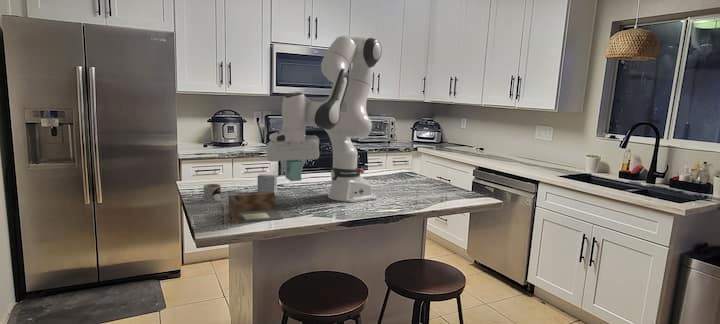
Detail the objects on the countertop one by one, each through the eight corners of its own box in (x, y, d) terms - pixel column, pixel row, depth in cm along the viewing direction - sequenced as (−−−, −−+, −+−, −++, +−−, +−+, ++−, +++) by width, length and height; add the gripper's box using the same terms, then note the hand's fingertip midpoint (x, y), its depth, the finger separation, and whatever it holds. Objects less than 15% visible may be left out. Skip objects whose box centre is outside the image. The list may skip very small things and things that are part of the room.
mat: (274, 210, 166) (274, 208, 166) (283, 219, 156) (283, 217, 156) (233, 213, 159) (233, 212, 159) (239, 223, 148) (239, 222, 148)
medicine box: (276, 192, 193) (277, 174, 192) (274, 195, 189) (274, 176, 188) (260, 191, 194) (260, 173, 193) (257, 193, 190) (257, 175, 188)
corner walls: (273, 209, 167) (273, 192, 166) (283, 219, 156) (283, 200, 154) (228, 213, 160) (228, 195, 158) (235, 223, 148) (235, 204, 147)
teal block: (295, 176, 164) (295, 159, 163) (301, 180, 158) (301, 162, 157) (285, 177, 162) (285, 159, 161) (290, 181, 156) (291, 163, 155)
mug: (215, 203, 171) (215, 188, 170) (200, 202, 172) (200, 186, 171) (227, 197, 181) (227, 183, 180) (213, 196, 182) (212, 181, 181)
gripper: (316, 134, 164) (315, 168, 167) (265, 135, 155) (265, 171, 158) (322, 136, 159) (321, 171, 161) (269, 137, 150) (269, 174, 152)
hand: (293, 171), depth 160 cm, fingers closed on teal block, 4 cm apart
